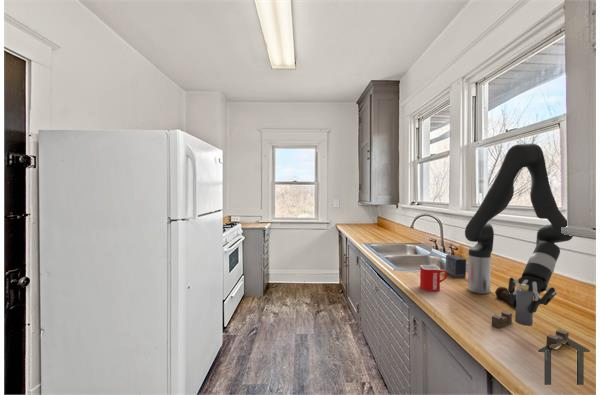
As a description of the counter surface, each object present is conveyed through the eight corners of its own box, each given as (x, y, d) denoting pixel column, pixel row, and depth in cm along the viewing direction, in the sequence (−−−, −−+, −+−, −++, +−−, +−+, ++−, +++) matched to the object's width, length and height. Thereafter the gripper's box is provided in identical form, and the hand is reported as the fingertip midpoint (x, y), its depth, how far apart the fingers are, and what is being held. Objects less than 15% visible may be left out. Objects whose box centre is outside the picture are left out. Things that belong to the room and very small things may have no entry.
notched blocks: (504, 319, 119) (504, 310, 119) (568, 342, 102) (568, 332, 102) (491, 325, 114) (491, 316, 114) (555, 350, 97) (556, 339, 97)
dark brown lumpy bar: (520, 315, 127) (498, 300, 142) (531, 309, 127) (509, 295, 142) (513, 303, 127) (493, 289, 142) (525, 297, 126) (503, 284, 141)
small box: (466, 278, 170) (467, 259, 170) (455, 278, 170) (455, 259, 169) (455, 272, 181) (456, 254, 180) (444, 272, 180) (445, 254, 180)
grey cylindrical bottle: (519, 318, 109) (520, 281, 108) (535, 323, 105) (536, 285, 104) (512, 321, 107) (513, 284, 106) (528, 327, 102) (529, 288, 102)
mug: (423, 291, 150) (424, 269, 150) (418, 285, 158) (419, 264, 158) (449, 291, 149) (449, 270, 148) (443, 286, 157) (443, 265, 157)
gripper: (513, 257, 115) (495, 296, 109) (561, 267, 102) (543, 310, 97) (520, 269, 118) (502, 307, 112) (567, 280, 105) (550, 323, 100)
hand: (521, 308), depth 104 cm, fingers closed on grey cylindrical bottle, 4 cm apart
